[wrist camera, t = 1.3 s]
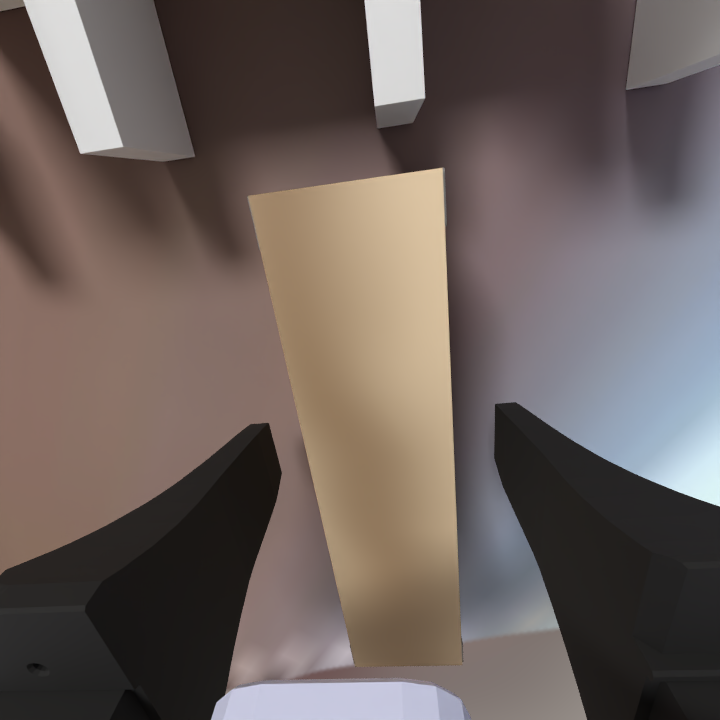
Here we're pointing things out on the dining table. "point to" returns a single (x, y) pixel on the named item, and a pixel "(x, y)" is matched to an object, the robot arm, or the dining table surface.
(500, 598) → the dining table surface
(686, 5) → the white comb rack
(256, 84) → the dining table surface
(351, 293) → the rail
